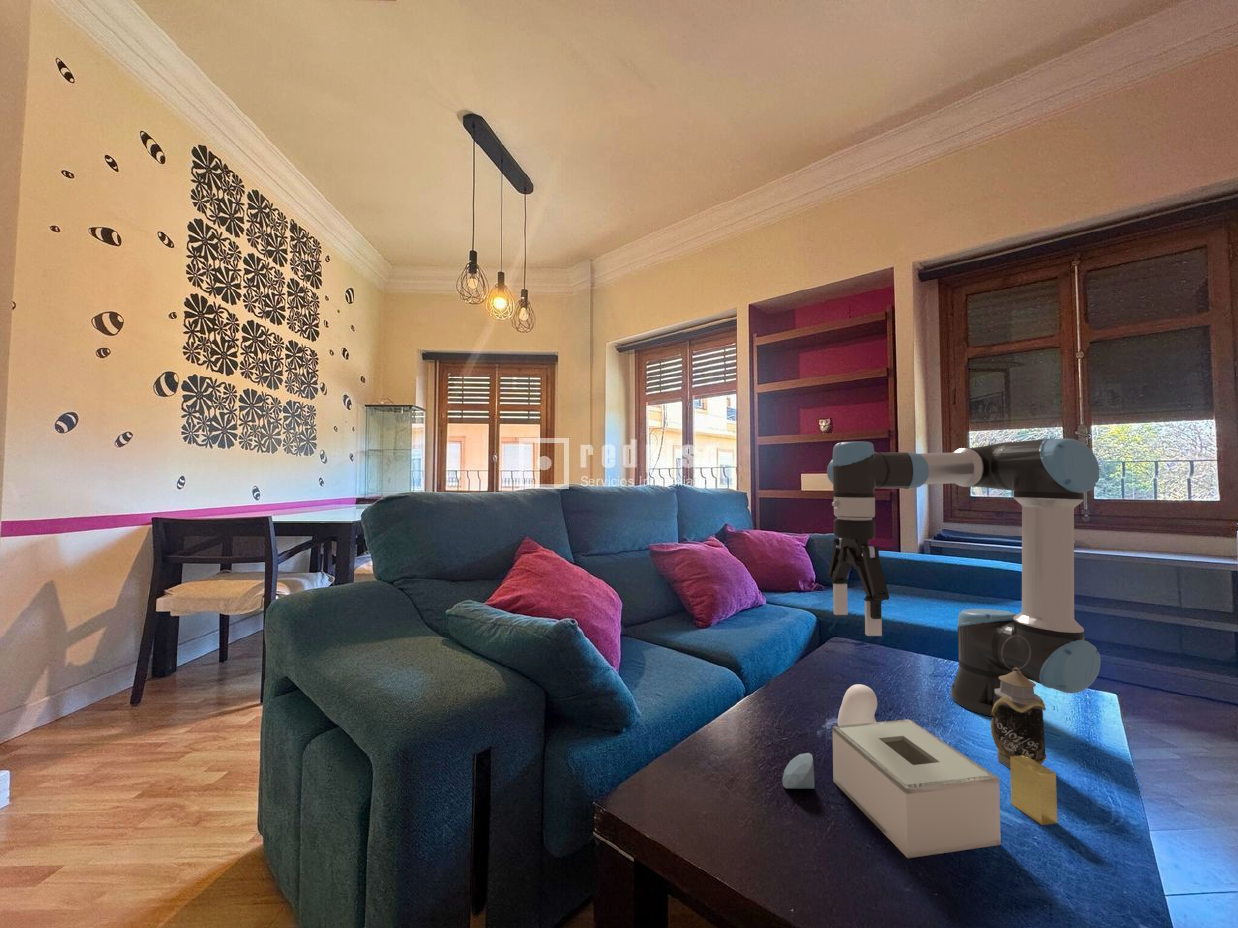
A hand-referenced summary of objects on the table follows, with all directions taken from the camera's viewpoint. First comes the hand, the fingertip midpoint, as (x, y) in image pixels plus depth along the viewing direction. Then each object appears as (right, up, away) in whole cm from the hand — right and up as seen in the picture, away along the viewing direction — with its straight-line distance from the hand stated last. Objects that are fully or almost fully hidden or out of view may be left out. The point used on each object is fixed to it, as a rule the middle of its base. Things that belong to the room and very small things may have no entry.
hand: (855, 624), depth 95 cm
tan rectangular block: (+22, -26, -16) cm, 38 cm away
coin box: (+1, -26, -15) cm, 30 cm away
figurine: (+3, -27, +5) cm, 28 cm away
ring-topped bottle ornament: (+31, -27, -2) cm, 41 cm away
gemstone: (-15, -27, -9) cm, 32 cm away
